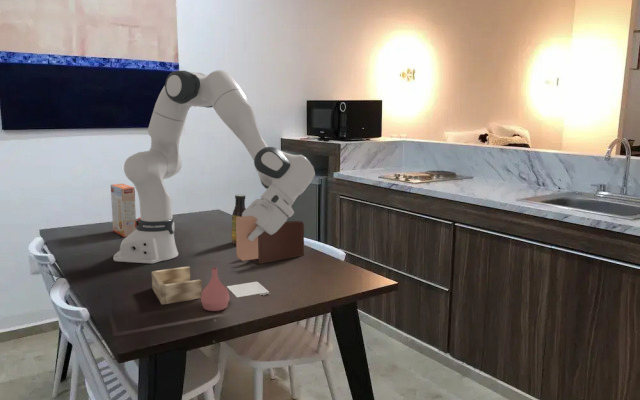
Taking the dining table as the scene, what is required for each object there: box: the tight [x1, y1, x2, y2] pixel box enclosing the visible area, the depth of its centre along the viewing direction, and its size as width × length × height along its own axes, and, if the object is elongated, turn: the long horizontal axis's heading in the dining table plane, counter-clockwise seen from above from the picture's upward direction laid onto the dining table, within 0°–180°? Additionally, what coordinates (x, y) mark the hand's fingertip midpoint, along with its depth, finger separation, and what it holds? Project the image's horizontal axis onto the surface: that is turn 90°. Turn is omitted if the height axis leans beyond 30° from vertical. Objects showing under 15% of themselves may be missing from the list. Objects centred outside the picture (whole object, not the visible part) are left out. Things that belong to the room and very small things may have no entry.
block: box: [235, 216, 258, 262], centre depth 150 cm, size 5×5×12 cm
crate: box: [150, 266, 203, 305], centre depth 149 cm, size 11×14×6 cm
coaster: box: [225, 281, 270, 298], centre depth 153 cm, size 10×10×1 cm
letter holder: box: [250, 220, 305, 265], centre depth 188 cm, size 10×20×14 cm, turn 127°
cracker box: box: [110, 183, 137, 238], centre depth 218 cm, size 14×6×21 cm, turn 39°
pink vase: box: [200, 267, 230, 312], centre depth 138 cm, size 8×8×12 cm
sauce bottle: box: [231, 193, 247, 245], centre depth 205 cm, size 7×6×20 cm
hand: (245, 237), depth 150 cm, fingers closed on block, 5 cm apart
